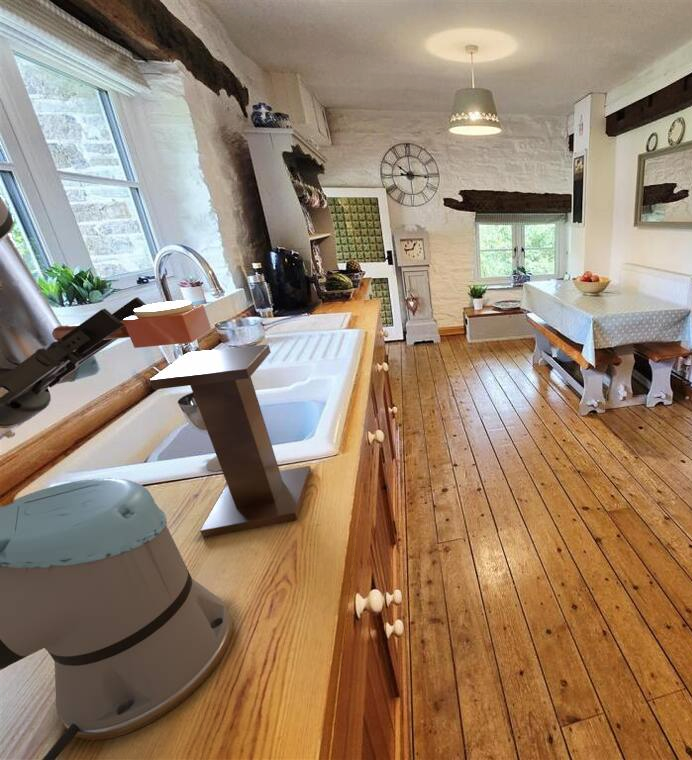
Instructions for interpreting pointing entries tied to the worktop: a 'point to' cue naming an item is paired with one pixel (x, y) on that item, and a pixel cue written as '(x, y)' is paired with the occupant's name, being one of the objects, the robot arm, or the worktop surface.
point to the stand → (238, 439)
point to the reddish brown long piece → (157, 325)
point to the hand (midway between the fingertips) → (129, 310)
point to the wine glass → (196, 422)
